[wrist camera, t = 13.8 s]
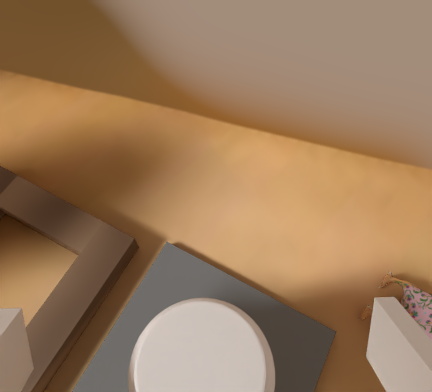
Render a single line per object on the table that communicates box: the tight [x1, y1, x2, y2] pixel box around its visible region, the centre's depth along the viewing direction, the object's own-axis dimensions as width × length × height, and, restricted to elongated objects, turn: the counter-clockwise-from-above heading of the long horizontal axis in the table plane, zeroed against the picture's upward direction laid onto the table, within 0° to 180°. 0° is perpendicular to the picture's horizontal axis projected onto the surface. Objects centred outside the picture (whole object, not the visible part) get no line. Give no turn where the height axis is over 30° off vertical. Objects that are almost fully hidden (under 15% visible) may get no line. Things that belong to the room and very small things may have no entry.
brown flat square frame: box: [0, 166, 139, 392], centre depth 22 cm, size 11×11×2 cm
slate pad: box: [72, 242, 336, 392], centre depth 20 cm, size 11×11×1 cm
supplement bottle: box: [128, 298, 275, 392], centre depth 15 cm, size 5×5×10 cm
